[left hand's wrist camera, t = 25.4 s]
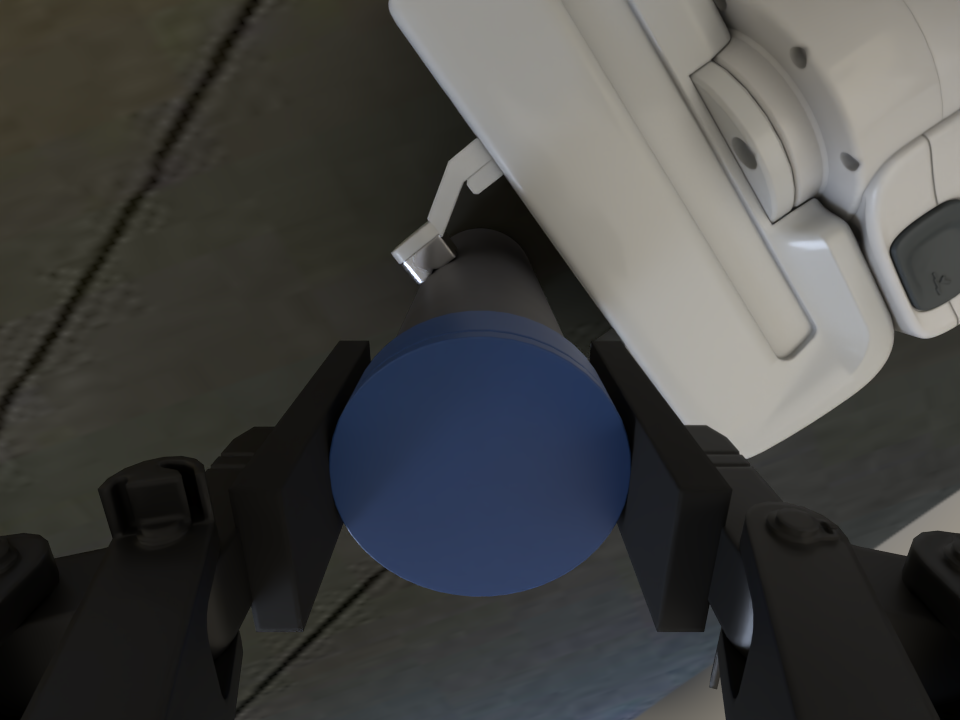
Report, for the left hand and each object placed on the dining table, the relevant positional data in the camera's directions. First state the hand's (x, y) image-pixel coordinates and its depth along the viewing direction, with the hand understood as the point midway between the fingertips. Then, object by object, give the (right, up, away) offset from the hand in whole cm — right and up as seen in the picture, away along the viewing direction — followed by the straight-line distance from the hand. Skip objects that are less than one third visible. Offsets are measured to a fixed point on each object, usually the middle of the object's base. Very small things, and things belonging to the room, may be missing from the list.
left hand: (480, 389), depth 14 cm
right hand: (-1, +2, +6) cm, 6 cm away
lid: (0, -1, -4) cm, 4 cm away
